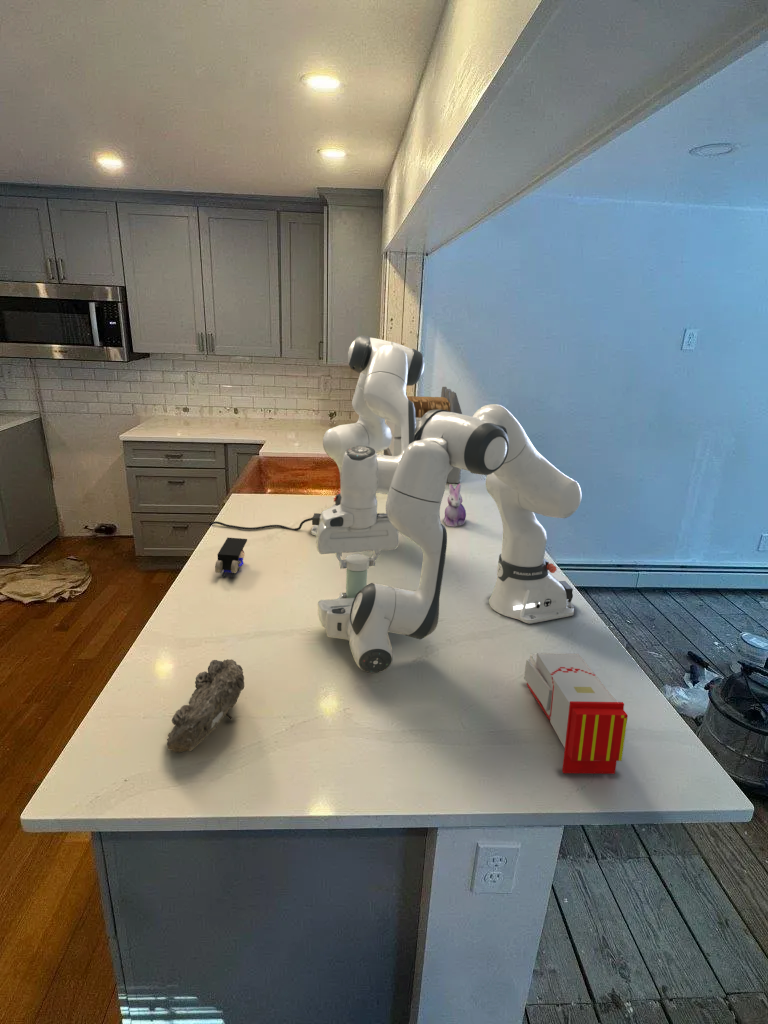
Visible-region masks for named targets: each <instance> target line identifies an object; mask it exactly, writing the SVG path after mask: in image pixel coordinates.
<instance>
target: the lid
mask: <svg viewBox="0 0 768 1024" xmlns="http://www.w3.org/2000/svg"><path fill="white" fill-rule="evenodd" d="M369 558H370V557H369V556H368V555H365V554H364V553H363V554H361V553H351V554H348V555H346V557H345V558H344V560H345V561H346V568H345V569H346V570H347V569H348V570H351V571H364V570H367V571H368V569H369V568H370V567H369V564H370V563H369V562H370V561H369Z"/></svg>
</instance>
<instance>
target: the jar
mask: <svg viewBox="0 0 768 1024" xmlns="http://www.w3.org/2000/svg"><path fill="white" fill-rule="evenodd" d="M345 573H346V575H345V576H346V577H345V593H346V598H355V596H356V594H357V593H358V592H359V591H360V590H361V589H362V588H363V587H365V586H366V585H368V569H367V570H364V571H351V570H348V569H347V568H346V572H345Z"/></svg>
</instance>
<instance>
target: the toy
mask: <svg viewBox="0 0 768 1024" xmlns="http://www.w3.org/2000/svg"><path fill="white" fill-rule="evenodd" d="M523 679H524V681H525V682H526V686H527V688H528V689H529V691H530V693H531V694H532V695H533V697H534V699H535V701H536V702H537V704H538V705H539V706H540V708H541V710H542V711H543V713H544V715H545V717H546V718H547V719H548V721H550V722H549V723H550V725H551V727H552V728H553V730H554V732H555V733H556V735H557V737H558V739H559V741H560V743H561V744H562V745H563V748H564V750H563V751H564V752H563V761H562V769H561V771H562V774H595V775H596V774H597V775H598V774H599V775H600V774H601V775H606V774H607V775H608V774H609V775H615V774H616V770H617V762H622V760H623V755H624V754H623V753H624V746H625V738H626V732H627V725H628V723H627V722H628V713H627V712H626V711H625V710H624V708H625V703H624V702H623V701H617V700H616V698H614V696H613V695H612V694H611V693H610V691H609V690H608V689H607V687H606V686H605V685H604V683H602V681H601V679H599V678H598V676H597V675H596V674H595V672H594V671H593V670H592V669H591V668H590V666H589V665H588V664H587V663H586V661H585V660H584V659H583V658H582V657H581V655H580V654H579V653H552V652H551V653H546V652H537V653H530V654H529V659H528V658H527V659H526V661H525V668H524V674H523Z"/></svg>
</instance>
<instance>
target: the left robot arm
mask: <svg viewBox="0 0 768 1024" xmlns="http://www.w3.org/2000/svg"><path fill="white" fill-rule="evenodd" d="M347 351H348V352H347V360H348V366H349V368H350V369H351V370H352V371H354V372H355V373H358V374H359V377H358V378H357V383H356V386H355V389H354V392H353V397H352V400H351V406H352V409H353V411H354V412H355V414H357V415H358V419H357V421H356V422H354V423H346V424H339V425H337V426H333V427H330V428H329V429H327V430H326V431H325V433H324V435H323V438H322V447H323V450H324V452H325V453H326V455H327V456H328V457H329V458H330V459H332V460H333V461H334V462H335V464H336V466H337V468H338V472H339V482H340V484H339V485H340V488H339V489H340V490H339V491H338V492H337V494H336V495H335V496H334V497H333V502H334V504H333V505H331V506H329V507H328V508H326V509H323V510H322V511H321V513H317V512H314V513H313V515H312V517H309V518H306V519H304V520H302V521H301V522H300V524H299V525H298V527H295V528H291V527H288V526H286V525H282V524H268V525H261V526H254V527H249V526H248V527H245V526H238V525H234V524H233V525H232V524H227V523H224V522H221V521H211V522H210V523H209V524H208V526H209V527H210V526H211V527H212V526H213V525H221V526H223V527H226V528H233V529H239V530H245V531H246V530H249V531H254V530H255V531H257V530H262V529H268V528H269V529H270V528H280V529H281V528H282V529H285V530H289V531H293V532H294V531H296V532H297V531H300V530H301V528H302V526H303V525H304V524H305V523H307V522H311V526H312V528H311V530H310V533H311V536H315V538H316V539H315V547H316V551H317V552H318V553H319V554H320V555H330V554H335V557H336V559H337V561H338V567H339V569H340V570H342V569H347V568H346V561H345V559H342V557H343V554H347V553H360V552H361V553H363V552H364V553H365V552H373V553H372V556H371V557H369V561H370V562H369V563H370V564H369V568H370V567H376V561H377V559H378V558H379V557H380V555H381V551H394V550H397V548H398V547H399V543H400V541H399V531H398V530H397V529H396V528H395V527H394V526H393V525H392V524H391V522H390V521H389V519H388V517H387V514H386V512H382V513H381V512H379V513H378V498H377V494H379V495H381V494H382V495H388V492H389V489H390V486H391V482H392V479H393V476H394V474H395V471H396V468H397V466H398V464H399V461H400V459H401V457H402V455H403V453H404V451H405V450H406V448H407V446H408V445H409V444H410V443H412V442H413V438H414V432H415V428H416V413H415V407H414V404H413V402H411V401H410V400H408V398H407V396H408V395H407V396H406V393H407V386H411V387H412V386H415V385H416V384H418V383H419V381H420V379H421V378H422V377H423V374H424V370H425V357H424V355H423V353H422V352H421V351H419V350H417V349H415V348H411V347H408V346H406V345H403V344H401V343H398V342H395V341H389V340H385V339H381V338H375V337H370V335H358V336H357V337H355V338H354V340H353V341H352V342H351V344H350V346H349V348H348V350H347ZM386 420H388V421H390V422H392V423H394V424H395V425H397V426H398V427H399V428H400V429H401V454H400V455H398V456H387V455H384V454H378V453H381V452H384V450H385V449H387V448H388V447H389V446H390V444H391V440H392V434H391V431H390V428H389V427H388V426H387V423H386Z"/></svg>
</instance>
